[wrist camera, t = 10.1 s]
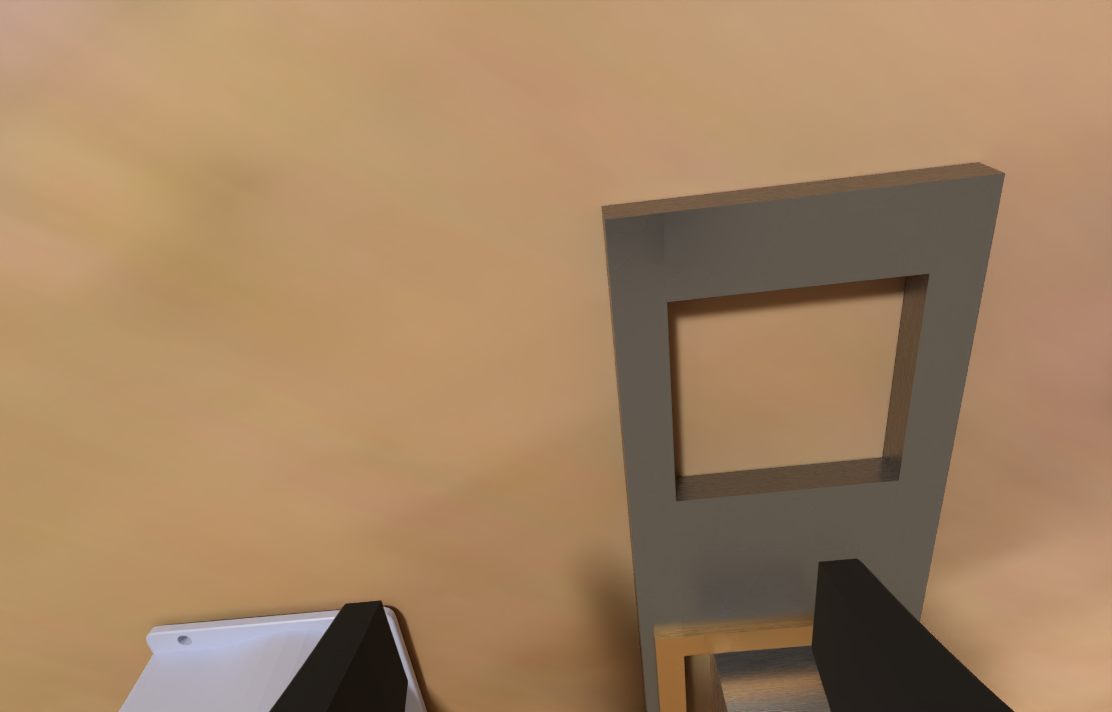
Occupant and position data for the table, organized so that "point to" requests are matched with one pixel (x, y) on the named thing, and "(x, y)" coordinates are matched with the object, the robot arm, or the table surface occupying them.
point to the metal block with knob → (767, 681)
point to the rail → (806, 490)
